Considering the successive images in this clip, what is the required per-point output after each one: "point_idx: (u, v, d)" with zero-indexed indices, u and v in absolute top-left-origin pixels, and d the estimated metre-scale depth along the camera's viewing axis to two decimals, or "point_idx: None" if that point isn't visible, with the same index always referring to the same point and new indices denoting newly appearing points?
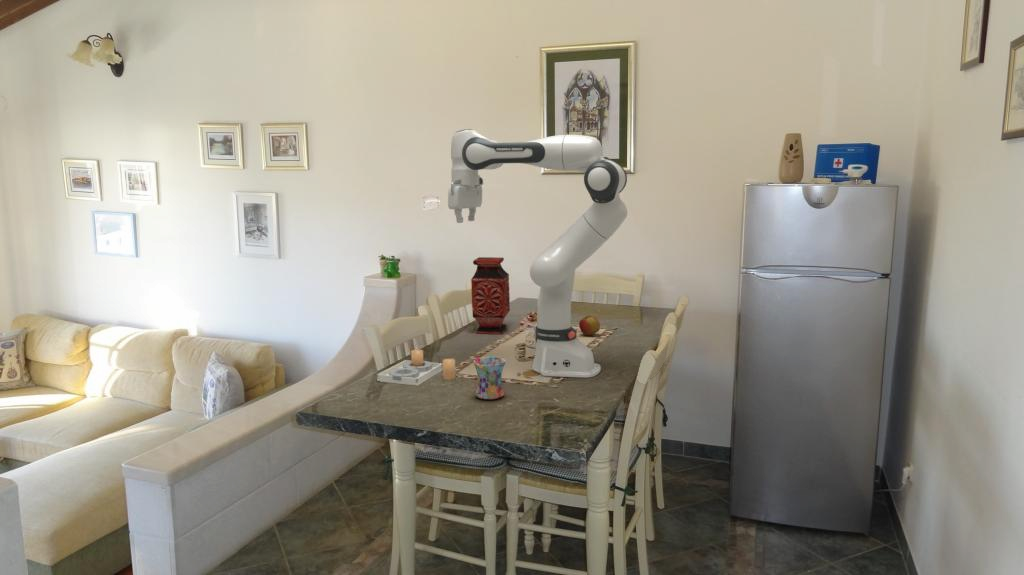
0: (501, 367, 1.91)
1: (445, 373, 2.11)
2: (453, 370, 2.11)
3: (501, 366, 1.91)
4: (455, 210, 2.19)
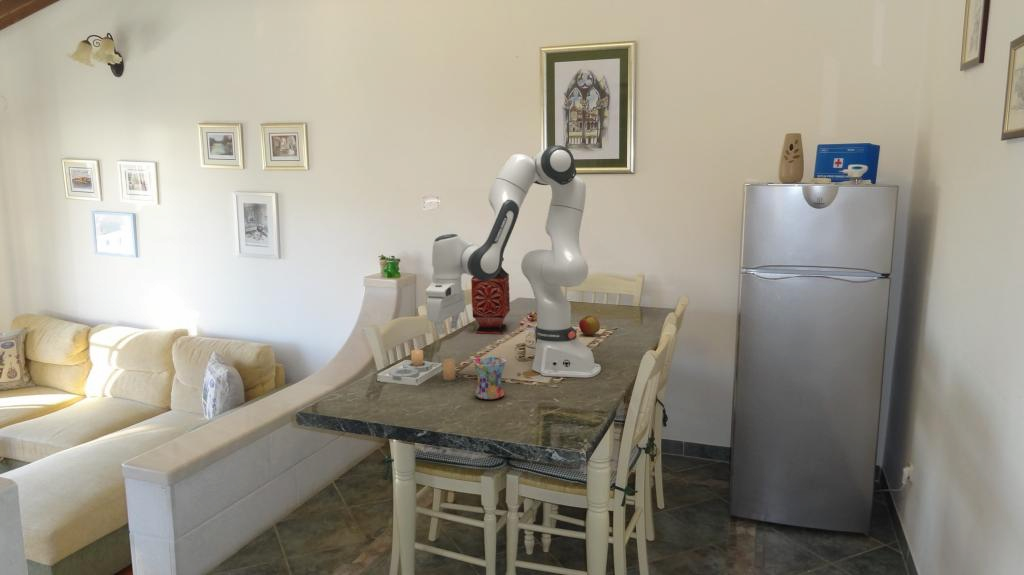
0: (501, 367, 1.91)
1: (445, 373, 2.11)
2: (453, 370, 2.11)
3: (501, 366, 1.91)
4: None
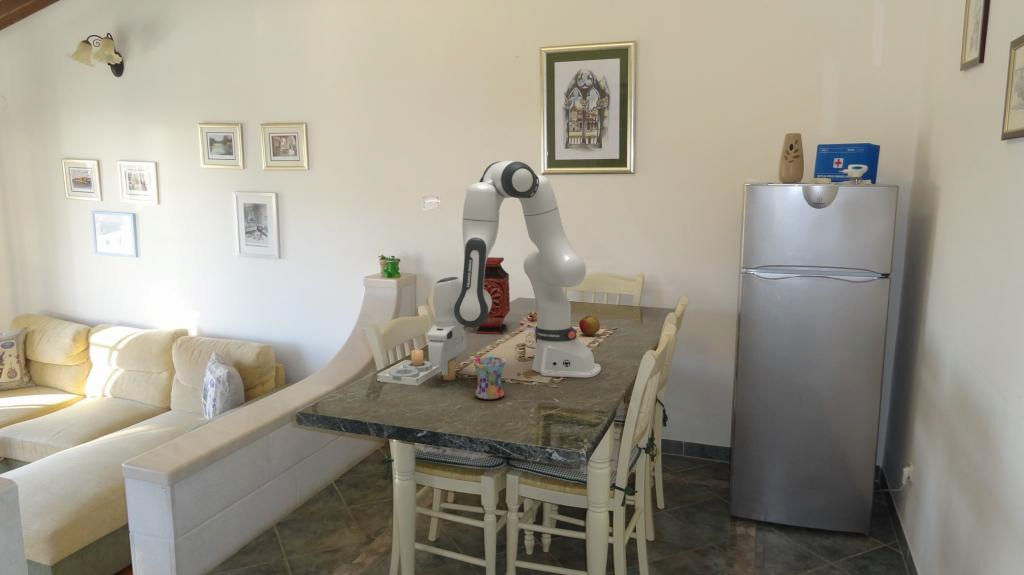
0: (501, 367, 1.91)
1: None
2: (453, 370, 2.11)
3: (501, 366, 1.91)
4: None
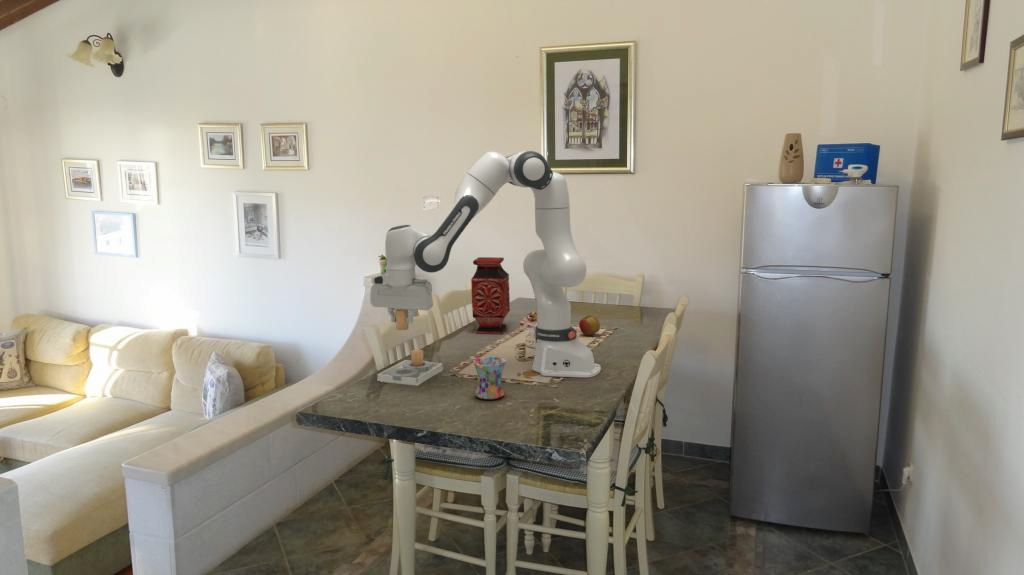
0: (501, 367, 1.91)
1: None
2: (397, 320, 2.08)
3: (501, 366, 1.91)
4: (413, 310, 2.06)
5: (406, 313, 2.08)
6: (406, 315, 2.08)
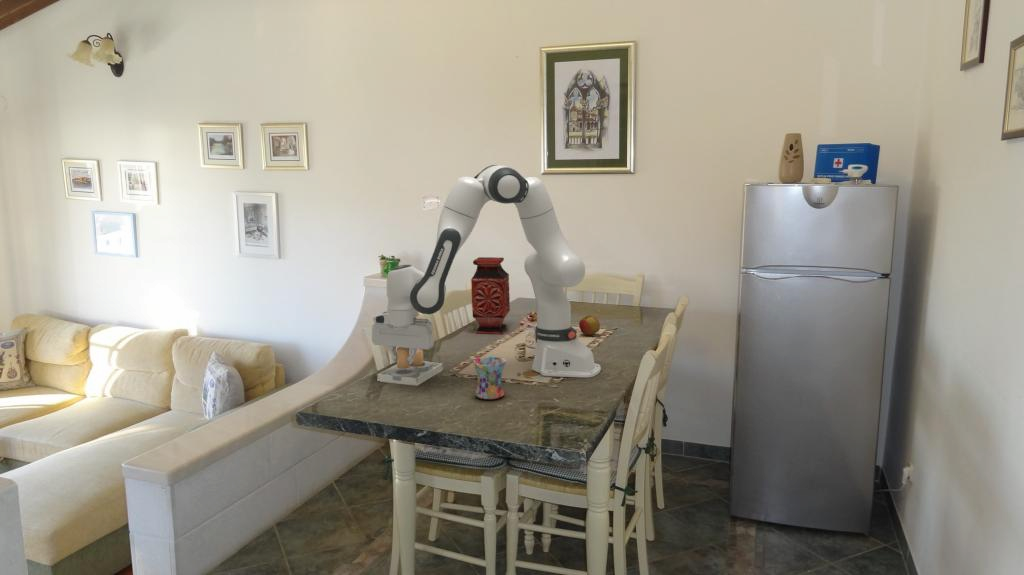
0: (501, 367, 1.91)
1: None
2: (398, 359, 2.09)
3: (501, 366, 1.91)
4: (414, 349, 2.08)
5: (407, 352, 2.10)
6: (407, 354, 2.10)
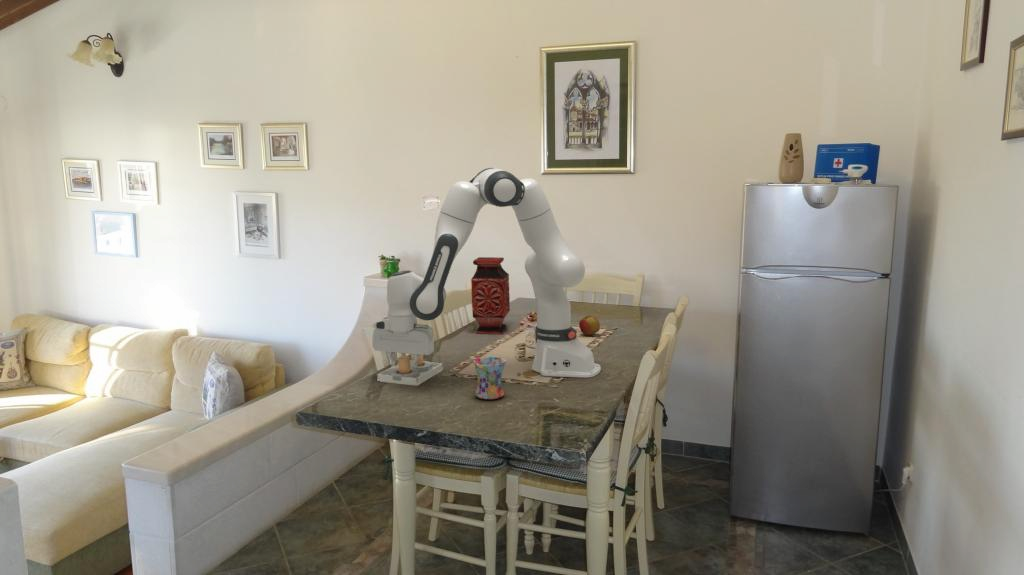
0: (501, 367, 1.91)
1: None
2: (400, 368, 2.10)
3: (501, 366, 1.91)
4: (417, 355, 2.08)
5: (408, 361, 2.10)
6: (408, 363, 2.10)
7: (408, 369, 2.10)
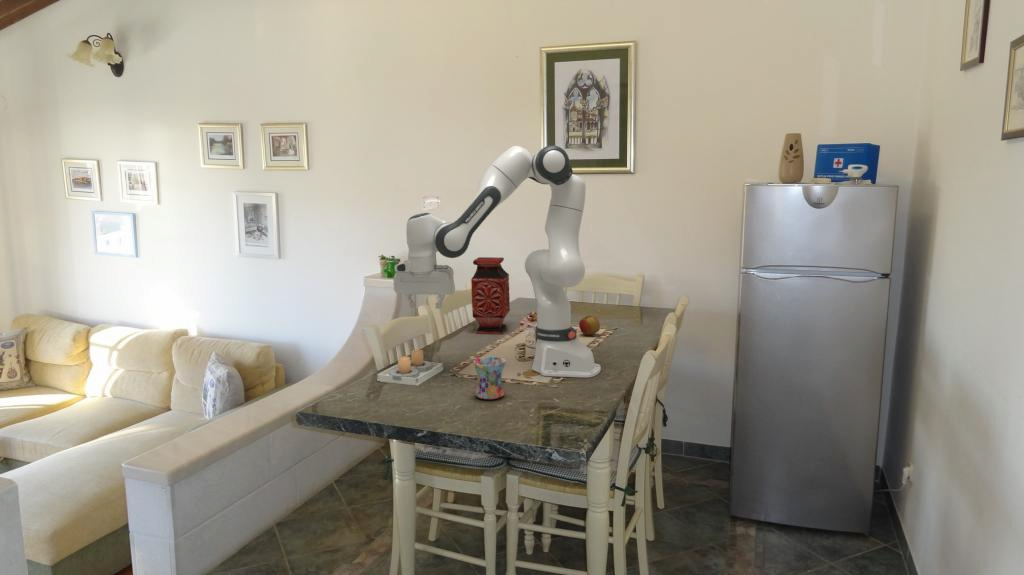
0: (501, 367, 1.91)
1: None
2: (400, 368, 2.10)
3: (501, 366, 1.91)
4: (442, 296, 2.12)
5: (408, 361, 2.10)
6: (408, 363, 2.10)
7: (408, 369, 2.10)
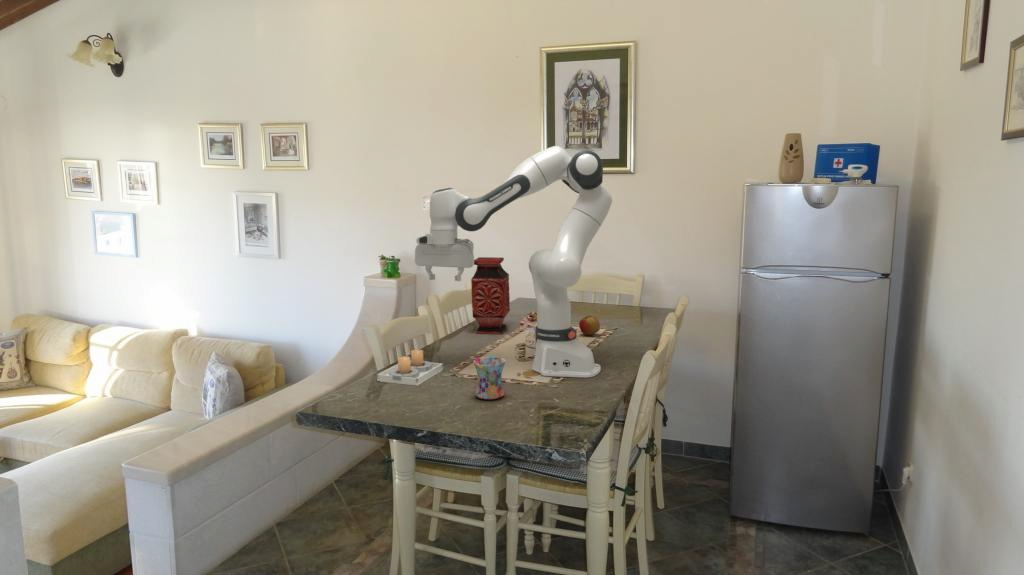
0: (501, 367, 1.91)
1: None
2: (400, 368, 2.10)
3: (501, 366, 1.91)
4: (461, 269, 2.19)
5: (408, 361, 2.10)
6: (408, 363, 2.10)
7: (408, 369, 2.10)
